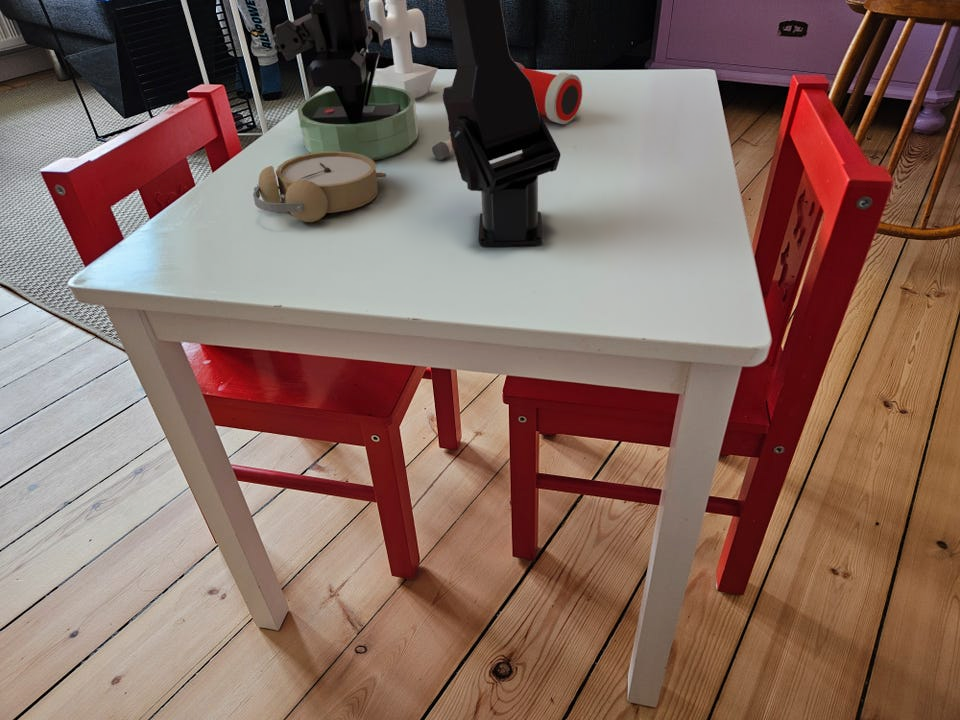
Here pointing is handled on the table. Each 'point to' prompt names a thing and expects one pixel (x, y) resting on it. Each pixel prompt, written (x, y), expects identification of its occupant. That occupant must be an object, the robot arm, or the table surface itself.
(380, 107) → the remote
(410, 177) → the table surface
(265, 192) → the alarm clock
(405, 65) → the figurine
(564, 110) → the toy hammer
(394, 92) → the bowl
